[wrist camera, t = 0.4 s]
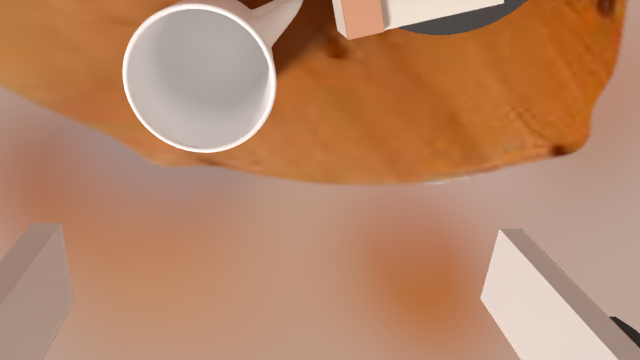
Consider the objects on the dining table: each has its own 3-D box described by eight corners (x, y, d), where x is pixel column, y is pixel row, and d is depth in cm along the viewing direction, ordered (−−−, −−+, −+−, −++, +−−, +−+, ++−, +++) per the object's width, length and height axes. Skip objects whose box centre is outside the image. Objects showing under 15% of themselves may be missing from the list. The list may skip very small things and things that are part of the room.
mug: (328, 39, 38) (353, 65, 28) (208, 126, 39) (192, 179, 30) (262, -62, 34) (264, -73, 24) (133, 37, 36) (88, 64, 26)
